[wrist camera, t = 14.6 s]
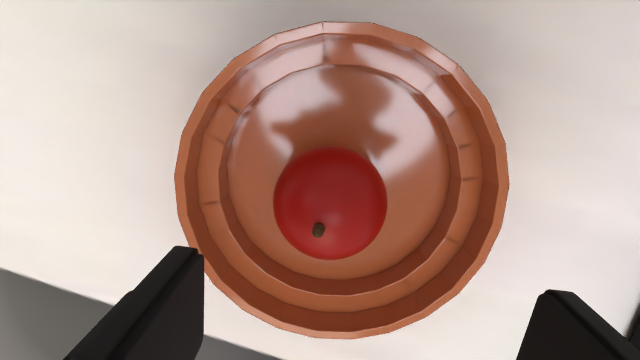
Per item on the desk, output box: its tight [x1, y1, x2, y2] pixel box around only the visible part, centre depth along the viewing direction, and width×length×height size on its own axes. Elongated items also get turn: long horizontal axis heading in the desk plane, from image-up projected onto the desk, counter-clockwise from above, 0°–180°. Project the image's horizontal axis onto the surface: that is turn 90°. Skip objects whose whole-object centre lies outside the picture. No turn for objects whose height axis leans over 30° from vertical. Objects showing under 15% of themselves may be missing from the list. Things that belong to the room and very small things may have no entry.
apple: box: [273, 145, 388, 260], centre depth 20 cm, size 7×7×8 cm
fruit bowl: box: [174, 21, 509, 339], centre depth 22 cm, size 19×19×4 cm
